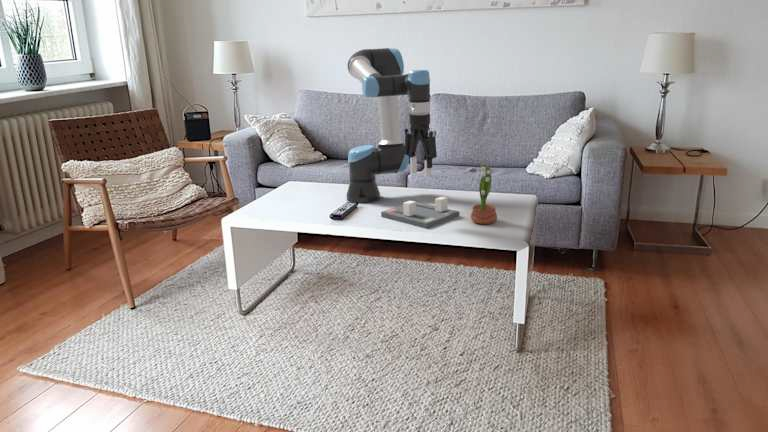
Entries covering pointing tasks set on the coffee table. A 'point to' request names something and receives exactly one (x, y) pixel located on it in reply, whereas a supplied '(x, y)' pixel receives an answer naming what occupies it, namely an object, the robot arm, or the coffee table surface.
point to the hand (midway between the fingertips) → (420, 175)
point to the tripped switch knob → (409, 208)
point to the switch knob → (441, 204)
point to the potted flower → (484, 199)
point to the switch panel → (421, 215)
